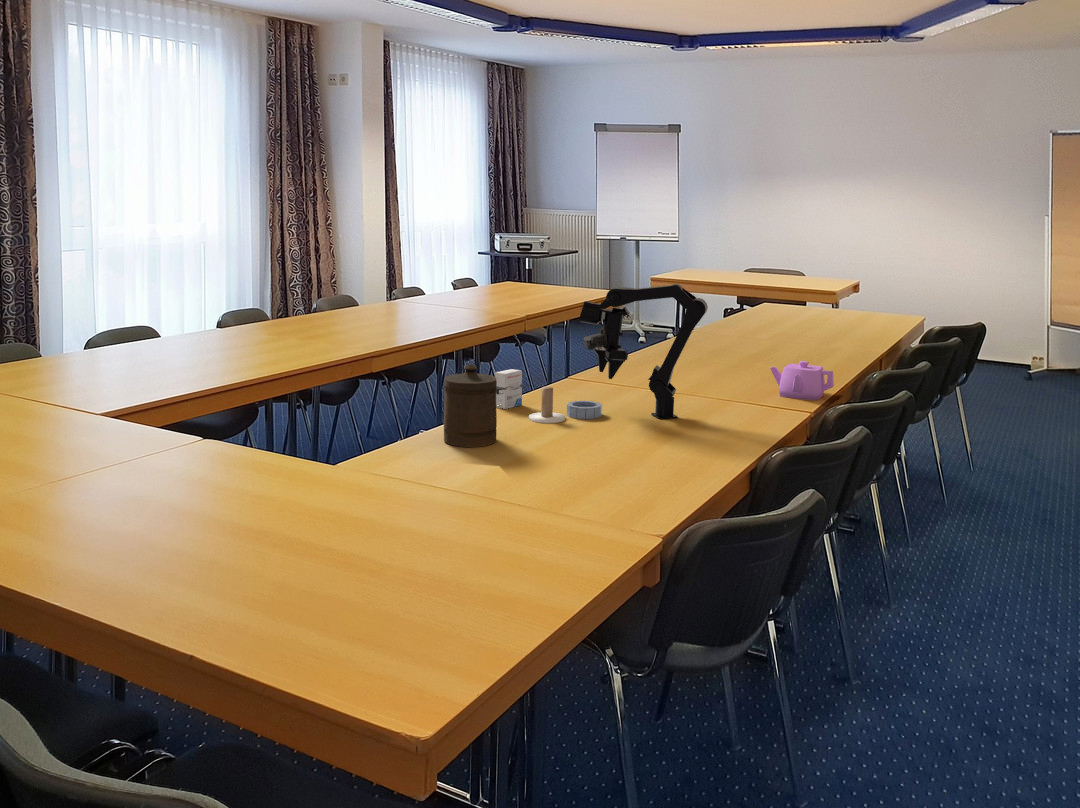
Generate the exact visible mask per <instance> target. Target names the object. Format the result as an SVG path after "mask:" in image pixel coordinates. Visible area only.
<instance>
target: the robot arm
mask: <svg viewBox="0 0 1080 808" xmlns="http://www.w3.org/2000/svg"><path fill="white" fill-rule="evenodd" d="M670 298H673V299H674V300H675V301H676V302H677V303H678V304H679V305H680V306H681V307H682V308H684V309H685V313H684V315H683V319H682V324H681V327H680V328H679V331H678V333H677V334H676V336H675V338H674V340H673V343H672V344H671V346H670V348H669V351H668V353H667V355H666V356H665V358H664V361H662V364H661V366H659V365H657V364H656V366H655V367H654V368H653V370H652V374H651V375H650V376H649V378H648V379H647V380H648V381H649V383H648V387H649V390H650V391H651V392H652V393H653V394H654V398H655V412H651V413H650V414H651V416H653V417H654V418H656V419H659V420H663V419H664V420H665V419H667V420H668V419H677V418H678V417H679V416H678V415H677V414H674V413H675V412H674V411H675V410H674V409H675V406H674V405H675V397H674V396H675V394H676V392H677V388H675V386H674V385H673V384H672V383H671V380H672V377H673V374H674V369H675V366H676V364H677V362H678V360H679V358H680V356H681V354H682V352H683V351H684V348H685V347H686V344H688V340H689V338H690V337H691V335H692V333H693V331H694V329H695V327H697V325H698V323H699V322H700V321H701V320H702V318H703V317H704V316H705V314H706V313H707V312H708V303H707V302H706V301H705V299H703V298H701V297H698V298H697V297H696V296H695V295H694V294H692V293H691V292H689V291H688V290H686V289H685V287H683V286H682V285H680V284H679V283H673V284H670V285H660V286H659V285H658V286H650V287H649V286H648V287H640V288H635V287H634V288H633V287H625V286H616V287H613V288H611V289H610V290H609V291H608V292H607V293H606V295H605V299H604V300H603V301H601V302H600V303H597V302H591V301H590V300H589V301H588V300H585V301H583V304H582V307H581V312H580V314H579V322H580V323H584V324H591V325H596V326H598V325H600V323H602V322H603V326H602V328H600V329H599V332H598V333H594V334H592V335H587V336H585V337H583V344H584V346H585V348H587V350H589V351H590V350H591V351H594V353H595V354H596V356H597V363H598V371H599V373H604V371H605V369H606V366H607V365H608V369H607V370H608V371H607V372H608V373H607V374H608V375H607V377H608V379H609V380H613V378H614V377H615V375H616V374H617V373H618V372H619V369H620V368H621V366H622V365H623V364H624V363H625V362H626V361H628V357H629V353H628V352H627V351H626V350H625V349H623V348H622V345H621V344H620V341H621V336H623V334H624V332H623V331H622V326H623V319H624V316H626V317H627V316H629V315H630V314H631V312H630V310H628V308H627V307H626V306H625V305H628V304H631V303H635V302H640V301H642V302H643V301H649V300H660V299H661V300H663V299H670ZM622 306H624V307H623V308H619V307H622ZM610 307H612V309H608V308H610Z"/></svg>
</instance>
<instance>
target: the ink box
mask: <svg viewBox="0 0 1080 808" xmlns="http://www.w3.org/2000/svg"><path fill="white" fill-rule="evenodd" d="M494 377H496V380H497V387H496V409H497V408H498V409H502V408H503V410H508V408H509V409H512V408H516V407H520V406H522V405H523V371H522V370H521V369H513V368H511V369H506V370H501V371H495V372H494ZM500 404H501V405H500ZM497 405H499V406H497Z"/></svg>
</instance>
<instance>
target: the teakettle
mask: <svg viewBox="0 0 1080 808" xmlns="http://www.w3.org/2000/svg"><path fill="white" fill-rule="evenodd" d="M809 363H810V362H809V361H807V360H800V361H799V362H798V363H788V364H787V365H785V366H784V367H783V369H782V372H780V370H779V369H778V368H777V367H776V366H771V367H770V368H769V369H770V371H771V373H772V375H773V377H774V379H775V381H776V383H777V386H778V387H779V389H778V392H779V397H782V398H788V399H795V400H805V401H806V400H807V401H818V400H819V399H821V398H822V397H823V396H824V393H825V391H827V390H830V389H832V388H834V387H835V386H834V385H835V384H834V370H825V369H824V367H823V366H820V365H812V364H809ZM825 375H826V376H827V377H826V380H825ZM825 381H826V382H825Z"/></svg>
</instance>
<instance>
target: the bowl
mask: <svg viewBox="0 0 1080 808" xmlns="http://www.w3.org/2000/svg"><path fill="white" fill-rule="evenodd" d="M602 410H603V404H602V403H600V402H598V401H594V400H573V401H569V402H568V403H567V404H566V416H568V417H569V418H573V419H576V420H596V419H598V418H599V419H600V418H601V417H602V414H603V413H602V412H603V411H602Z"/></svg>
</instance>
